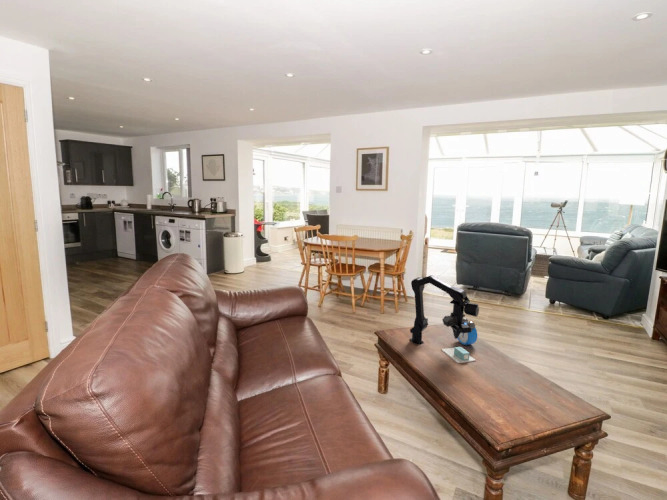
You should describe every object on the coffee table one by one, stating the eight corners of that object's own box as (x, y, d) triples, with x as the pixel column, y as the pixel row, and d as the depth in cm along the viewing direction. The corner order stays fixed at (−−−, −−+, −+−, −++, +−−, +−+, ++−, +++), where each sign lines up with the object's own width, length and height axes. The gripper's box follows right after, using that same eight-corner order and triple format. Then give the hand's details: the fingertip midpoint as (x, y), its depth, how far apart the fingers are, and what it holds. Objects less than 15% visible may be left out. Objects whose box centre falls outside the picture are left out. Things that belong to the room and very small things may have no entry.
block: (454, 347, 201) (463, 353, 193) (460, 346, 202) (469, 353, 194) (453, 354, 202) (462, 360, 194) (460, 353, 203) (469, 359, 195)
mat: (441, 350, 207) (441, 349, 207) (458, 348, 210) (458, 347, 210) (457, 363, 192) (458, 362, 192) (475, 361, 195) (475, 360, 195)
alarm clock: (454, 339, 222) (456, 316, 219) (463, 338, 224) (465, 315, 221) (468, 348, 210) (470, 324, 207) (476, 347, 212) (479, 323, 209)
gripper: (436, 307, 207) (434, 332, 209) (455, 319, 189) (452, 346, 192) (453, 306, 209) (451, 331, 212) (473, 317, 192) (470, 345, 195)
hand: (455, 338), depth 203 cm, fingers closed
